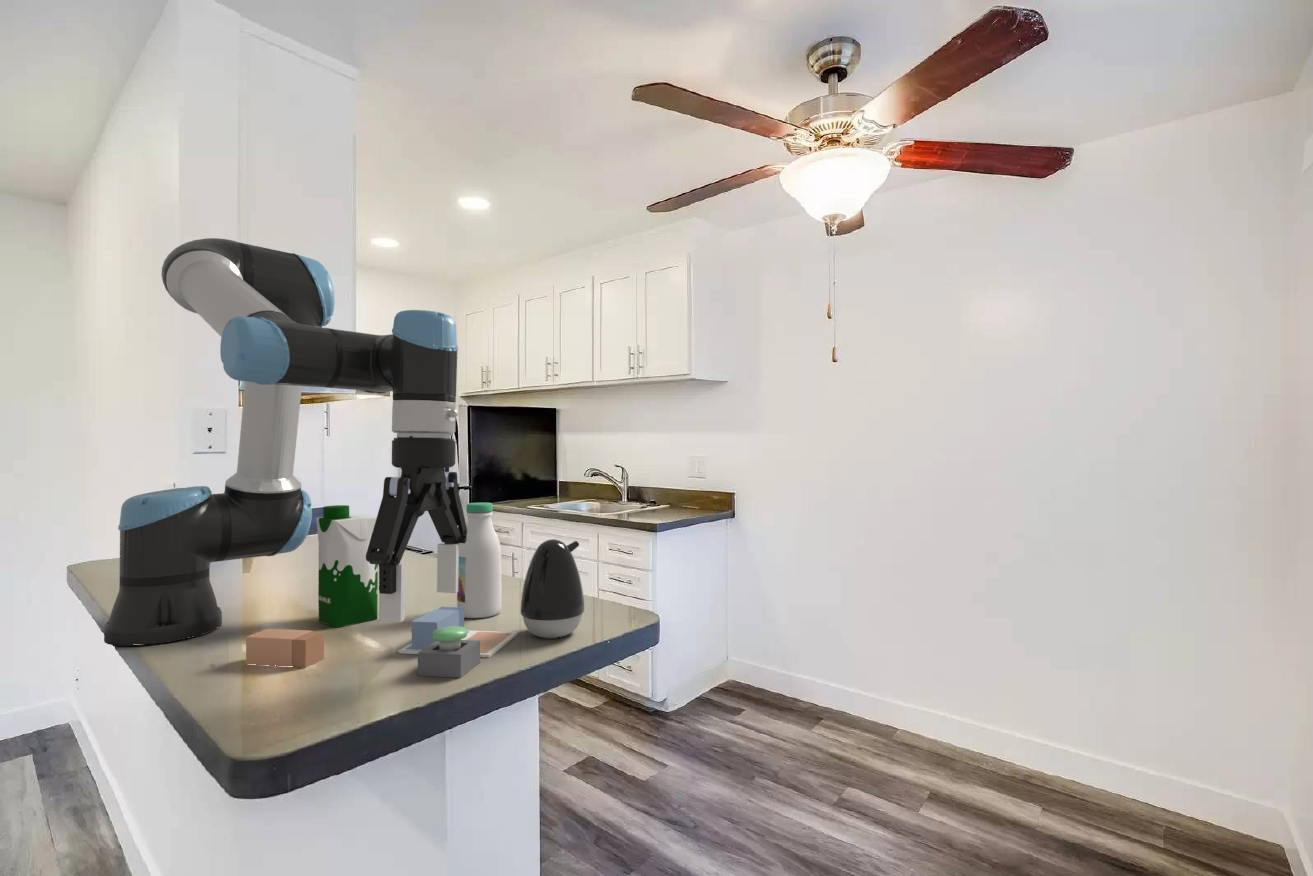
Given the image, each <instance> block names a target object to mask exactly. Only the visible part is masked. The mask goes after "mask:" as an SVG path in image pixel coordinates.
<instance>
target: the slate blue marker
mask: <svg viewBox="0 0 1313 876" xmlns="http://www.w3.org/2000/svg"><path fill="white" fill-rule="evenodd" d="M449 626H461V627H465V618H464V608H462V607H457V606H455V607H454V606H440V607H439V608H436V609H433V610H431V611H429V612H427V613H425V614H423V615H422V616H420V617H418V618H415V619H414V620H412V621H411V643H412V649H425V648H426V647H428V646H429V645H431V644H433V643H434V642H436V641H435V640H433V631H434V630H436V629H439V628H443V627H449Z"/></svg>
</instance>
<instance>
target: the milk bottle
mask: <svg viewBox="0 0 1313 876" xmlns="http://www.w3.org/2000/svg"><path fill="white" fill-rule="evenodd" d="M465 509H466V517H467V522H466V527H467V535H466V536H467V540H466V543H458V544H459V565H458V592H457V593H456V594H457V595H456V600H457V601H456V602H457V603H456V607H462V608H464V619H465V618H466V619H481V618H482V619H483V618H490V617H492V616H493V617H494V616H497V615H499V614H500V613H501V611H502V547H501V542H500V538H499V537H498V535H497V532H496V530H495V528H494V525H493V521H492V517H493V509H494V506H493V503H491V502H470V503H469V502H468V503H467V504H466V508H465Z"/></svg>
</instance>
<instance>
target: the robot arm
mask: <svg viewBox="0 0 1313 876" xmlns="http://www.w3.org/2000/svg"><path fill="white" fill-rule="evenodd" d="M160 275H161V280H162V284H163V285H164V289H165V290H166V291H167V293H168V295H169V296H170V297H171V298H172V299H173V301H175V302H176V304H178V305H179V306H181V307H182V308H184V309H185V310H187V311H188V312H192V313H193V314H198V316H199V317H201V319H203V321H205V323H207V325H209V326H210V327H211V328H212V329H213V330H214V332H215V333H217V334H218V335H219V337H221V339H220V360H221V362H222V367H223V371H224V373H226V375H227V376H228V377H229V378H230V379H233V380H235V381H239V382H244V388H243V389H244V390H243V401H242V410H241V411H242V412H241V421H240V423H241V424H240V433H239V446H238V455H237V465H236V467H237V468H236V472H235V473H234V474H233V475H231V476H230V477H229V478H227V479H226V480H225V482H224V483H225V484H224V492H223V493H213V492H212V490H211V488H210V487H209V486H206V485H204V486H203V485H202V486H201V485H200V486H198V485H197V486H196V485H195V486H188V487H178V488H170V489H164V490H157V491H151V492H146V493H140V494H137V495H134V496H130V497H129V498H127V499H126V500H125V501H124V502H122V505H121V507H120V517H119V525H118V527H117V529H118V531H119V589H118V593H117V596H116V598H115V601H114V603H113V607H112V609H111V613H110V616H109V620H108V621H107V622H106V623H105V624H104V628H103V629H104V630H103V637H104V638H103V642H104V643H105V644H107V645H111V646H116V647H117V646H118V647H134V646H133V644H150V645H157V643H159V644H164V643H163V642H166V643H170V642H169V641H172V642H177V640H178V641H181V640H180V639H183V638H187V639H189V638H188V637H191V638H193V637H192V636H195V637H199V636H202V635H204V634H203V633H206V632H208V633H211V632H213V631H215V630H214V629H216V628H217V627H219V628H221V626H222V625H221V624H223V623H222V622H223V621H222V619H223V618H222V617H223V611H222V609H221V607H220V606H218V603H217V599H216V598H217V597H216V595H215V593H214V589H213V586H212V584H211V580H210V566H211V563H215V562H224V561H234V560H240V559H249V558H250V559H252V558H258V557H274V556H276V555H281V554H287V553H291V552H294V551H296V549H298V548H299V547H300V546H301V545H302V544H303V543H304V542H305V540H306V539H307V537H308V534H309V531H310V528H311V524H312V518H313V509H312V508H311V507H312V500H311V497H310V495H309V494H308V493H307V492H306V491H305V490H304V489H302V483H301V481H299V480H298V479H297V478H296V476H295V475H294V465H295V458H296V448H297V440H298V438H297V437H298V429H299V427H298V426H299V421H300V420H299V418H300V409H301V399H302V389H303V387H311V388H312V387H313V388H326V389H340V390H351V391H352V390H354V391H355V390H356V391H360V392H363V393H368V394H379V395H380V394H386V393H388V392H392V407H391V409H392V411H391V414H392V415H391V431H392V432H393V433H395V434H396V437H393V439H392V440H391V465H392V466H393V467H394V468H398V469H399V468H400V469H401V474H400V476H386V477H385V478H384V480H383V490H382V498H381V502H380V505H379V508H378V511H377V515H376V517H377V518H376V522H375V525H374V529H373V532H372V536H371V539H370V543H369V546H368V550H367V553H366V560H367V561H368V562H369V563H370V564H378V621H383V622H397V623H402V622H404V621H405V603H406V602H405V599H406V598H405V597H406V596H405V595H406V594H405V593H406V591H405V590H406V589H405V587H406V585H405V583H406V582H405V581H406V563H402V562H401V561H402V558H403V555H404V553H405V551H406V548H407V546H408V543H409V541H410V539H411V537H412V535H413V532H414V529H415V526H416V524H417V522H418V520H419V518H420V517H422V516H423V515H424V514H425V513H426V512H428V515H429V517H430V519H431V522H432V523H433V526H434V528H435V531H436V533H437V534H438V537H439V539H440V541H441V543H438V544H437V551H436V552H437V556H436V559H437V560H436V561H437V562H436V565H437V566H436V567H437V568H436V571H437V572H436V593H445V594H447V593H449V594H457V592H458V565H459V543H466V540H467V536H466V535H467V527H466V525H467V522H466V519H465V515H464V510H463V505H462V501H461V495H460V492H459V485H458V472H456V471H446V470H445V469H447V468H448V469H449V468H453V467H454V466H455V464H456V446H457V445H456V444H457V443H456V440H455V439H454V438H451V434H452V435H453V434H454V433H456V419H457V417H458V416H459V411H458V410H457V407H456V406H457V405H456V400H457V398H456V397H457V382H458V381H457V379H458V377H457V376H458V350H459V345H458V343H457V341H458V340H457V336H458V335H457V323H456V321H455V319H454V318H453V317H452V316H451V315H449V314H446V313H444V312H438V311H433V310H426V309H425V310H423V309H407V310H400V311H399V312H397V313H396V314H395V316H394V320H393V325H392V329H391V333H392V334H391V333H390V334H384V335H383V334H382V335H381V334H374V333H373V334H372V333H367V332H366V333H365V332H359V331H358V332H357V331H352V330H351V331H350V330H344V329H343V330H342V329H336V328H335V329H334V328H329V327H326V326H327V325H329V323H330V322H331V320H332V316H333V315H334V310H335V291H334V290H335V289H334V285H333V282H332V279H331V276H330V274H329V272H328V270H327V268H326V267H325V265H323V264H322V263H321V262H320V261H318V260H316V259H314V258H309V257H307V256H303V255H300V254H296V253H295V252H285V251H281V250H277V249H272V248H268V247H263V246H258V245H254V244H250V243H249V244H248V243H243V242H238V241H235V240H232V239H226V238H219V237H218V238H217V237H213V238H211V237H210V238H209V237H208V238H207V237H206V238H200V239H194V240H190V241H187V242H185V243H182V244H180V245H178V246H177V247H175V248H174V249H173V250H172V251H171V252H170V253H168V255H167V256H166V258H165V259H164V260H163V264H162V267H161V274H160ZM217 629H218V628H217ZM217 629H216V630H217ZM212 630H213V631H212ZM210 631H211V632H210ZM201 634H202V635H201ZM206 634H207V633H206ZM198 635H199V636H198ZM183 640H184V639H183Z"/></svg>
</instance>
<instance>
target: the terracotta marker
mask: <svg viewBox="0 0 1313 876" xmlns="http://www.w3.org/2000/svg"><path fill="white" fill-rule="evenodd" d="M324 659H325V631H312V630H309V629H307V630H306V629H305V630H304V629H303V630H301V629H285V628H284V629H282V628H281V629H280V628H266V629H263V630H260V631H258V632H255V633H253V634H250V635H248V636H246V637H245V665H246V664H256V665H269V666H275V665H276V666H293V667H300V668H299V669H307V668H309V667H310V665H311V666H312V665H315V664H317V663H318V662H320V661H323V660H324ZM308 666H309V667H308ZM293 667H292V668H293ZM302 667H303V668H302ZM306 667H307V668H306Z"/></svg>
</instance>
